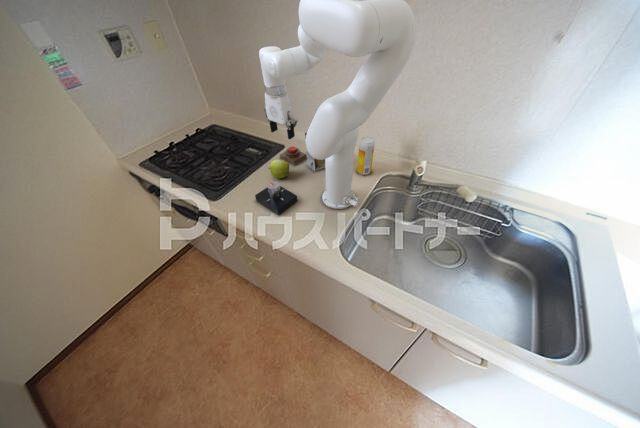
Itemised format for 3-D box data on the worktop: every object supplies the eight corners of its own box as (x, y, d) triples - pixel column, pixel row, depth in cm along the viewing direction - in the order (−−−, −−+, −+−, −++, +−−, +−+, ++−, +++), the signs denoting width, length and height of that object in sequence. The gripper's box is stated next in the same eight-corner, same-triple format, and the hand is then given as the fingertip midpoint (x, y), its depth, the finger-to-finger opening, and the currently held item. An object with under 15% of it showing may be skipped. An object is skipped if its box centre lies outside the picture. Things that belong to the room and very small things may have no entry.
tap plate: (297, 201, 92) (296, 195, 90) (278, 215, 87) (277, 209, 85) (275, 188, 99) (274, 182, 96) (256, 201, 93) (254, 194, 91)
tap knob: (283, 194, 91) (281, 183, 87) (275, 200, 88) (272, 189, 85) (276, 190, 93) (273, 179, 89) (267, 195, 91) (264, 184, 87)
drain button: (297, 151, 112) (297, 148, 111) (292, 154, 110) (292, 151, 109) (292, 149, 114) (292, 145, 113) (287, 152, 112) (286, 148, 111)
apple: (270, 172, 107) (267, 156, 101) (290, 170, 107) (288, 155, 102) (269, 182, 101) (265, 167, 96) (290, 180, 102) (288, 165, 96)
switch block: (306, 158, 114) (305, 150, 111) (294, 165, 110) (293, 158, 107) (292, 151, 119) (291, 144, 116) (280, 158, 115) (279, 151, 112)
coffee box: (323, 159, 113) (322, 126, 102) (331, 165, 109) (331, 131, 98) (307, 165, 110) (304, 132, 98) (315, 172, 106) (312, 138, 94)
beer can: (367, 166, 107) (370, 135, 96) (373, 173, 103) (377, 142, 92) (354, 169, 106) (357, 138, 95) (360, 177, 102) (363, 145, 91)
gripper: (252, 87, 86) (261, 132, 98) (286, 97, 78) (291, 144, 91) (267, 82, 90) (274, 125, 102) (301, 90, 82) (304, 136, 95)
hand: (282, 134), depth 96 cm, fingers open, 9 cm apart
